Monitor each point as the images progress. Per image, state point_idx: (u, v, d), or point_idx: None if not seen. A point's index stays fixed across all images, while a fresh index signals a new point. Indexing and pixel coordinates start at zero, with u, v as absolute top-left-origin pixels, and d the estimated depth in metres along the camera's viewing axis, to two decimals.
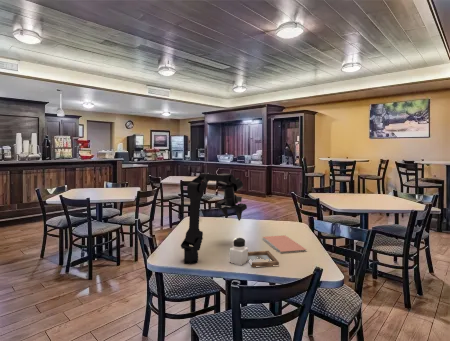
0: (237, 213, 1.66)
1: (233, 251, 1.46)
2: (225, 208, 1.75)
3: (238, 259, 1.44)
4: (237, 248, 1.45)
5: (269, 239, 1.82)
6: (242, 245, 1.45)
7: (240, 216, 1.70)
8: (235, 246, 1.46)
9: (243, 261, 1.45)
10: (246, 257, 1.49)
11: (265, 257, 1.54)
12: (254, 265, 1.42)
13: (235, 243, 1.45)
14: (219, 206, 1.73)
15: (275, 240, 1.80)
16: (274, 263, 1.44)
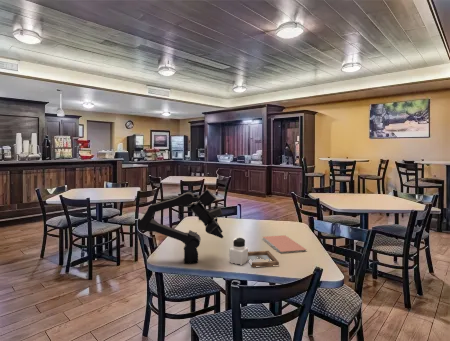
0: None
1: (233, 251, 1.46)
2: None
3: (238, 259, 1.44)
4: (237, 248, 1.45)
5: (269, 239, 1.82)
6: (242, 245, 1.45)
7: (219, 234, 1.42)
8: (235, 246, 1.46)
9: (243, 261, 1.45)
10: (246, 257, 1.49)
11: (265, 257, 1.54)
12: (254, 265, 1.42)
13: (235, 243, 1.45)
14: None
15: (275, 240, 1.80)
16: (274, 263, 1.44)
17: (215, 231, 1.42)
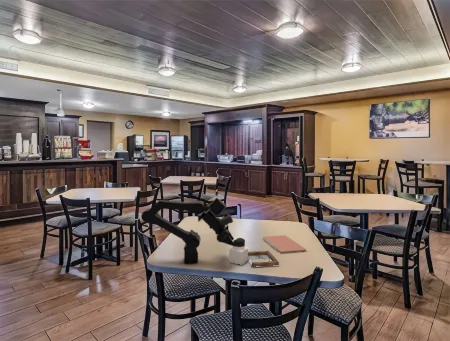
0: None
1: (233, 251, 1.46)
2: None
3: (238, 259, 1.44)
4: (237, 248, 1.45)
5: (269, 239, 1.82)
6: (242, 245, 1.45)
7: (231, 242, 1.42)
8: (235, 246, 1.46)
9: (243, 261, 1.45)
10: (246, 257, 1.49)
11: (265, 257, 1.54)
12: (254, 265, 1.42)
13: (235, 243, 1.45)
14: None
15: (275, 240, 1.80)
16: (274, 263, 1.44)
17: (226, 239, 1.42)
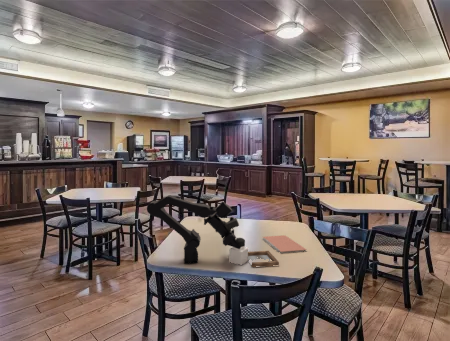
0: None
1: (233, 251, 1.46)
2: None
3: (238, 259, 1.44)
4: None
5: (269, 239, 1.82)
6: (242, 245, 1.45)
7: (237, 245, 1.44)
8: None
9: (243, 261, 1.45)
10: (246, 257, 1.49)
11: (265, 257, 1.54)
12: (254, 265, 1.42)
13: None
14: None
15: (275, 240, 1.80)
16: (274, 263, 1.44)
17: (232, 242, 1.43)
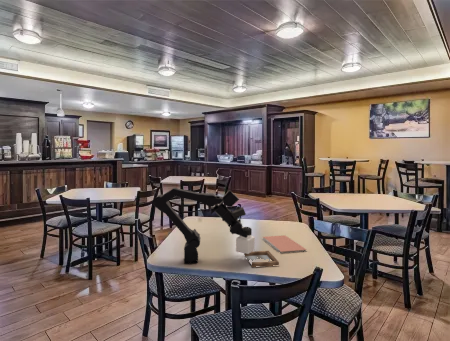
0: None
1: (240, 240, 1.46)
2: None
3: (245, 248, 1.44)
4: (244, 237, 1.45)
5: (269, 239, 1.82)
6: (249, 234, 1.46)
7: (243, 233, 1.44)
8: None
9: (250, 250, 1.45)
10: (253, 246, 1.49)
11: (265, 257, 1.54)
12: (254, 265, 1.42)
13: None
14: None
15: (275, 240, 1.80)
16: (274, 263, 1.44)
17: (239, 231, 1.43)
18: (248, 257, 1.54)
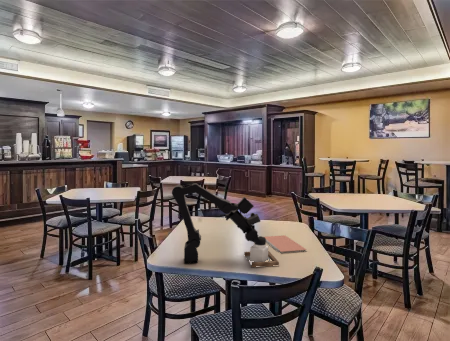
0: None
1: (254, 249, 1.47)
2: None
3: (259, 258, 1.46)
4: (258, 246, 1.47)
5: (269, 239, 1.82)
6: (263, 243, 1.47)
7: (259, 240, 1.45)
8: (256, 244, 1.47)
9: (264, 259, 1.47)
10: (267, 255, 1.50)
11: None
12: (254, 265, 1.42)
13: None
14: None
15: (275, 240, 1.80)
16: (274, 263, 1.44)
17: (254, 238, 1.44)
18: (248, 257, 1.54)
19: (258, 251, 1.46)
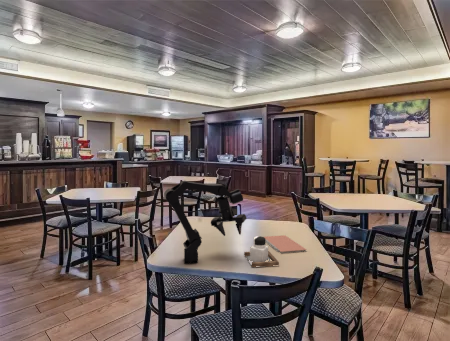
0: (238, 225, 1.49)
1: (254, 249, 1.47)
2: (221, 225, 1.56)
3: (259, 258, 1.46)
4: (258, 246, 1.47)
5: (269, 239, 1.82)
6: (263, 243, 1.47)
7: (240, 229, 1.52)
8: (256, 244, 1.47)
9: (264, 259, 1.47)
10: (267, 255, 1.50)
11: None
12: (254, 265, 1.42)
13: (256, 242, 1.47)
14: (214, 223, 1.53)
15: (275, 240, 1.80)
16: (274, 263, 1.44)
17: (239, 225, 1.51)
18: (248, 257, 1.54)
19: (258, 251, 1.46)
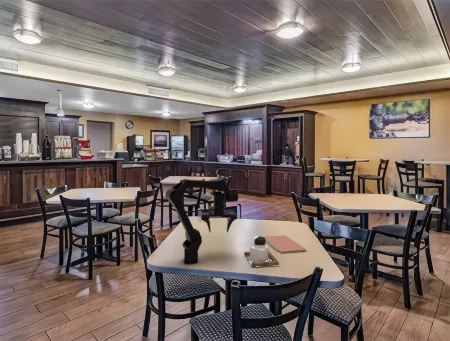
0: (231, 222, 1.53)
1: (254, 249, 1.47)
2: None
3: (259, 258, 1.46)
4: (258, 246, 1.47)
5: (269, 239, 1.82)
6: (263, 243, 1.47)
7: None
8: (256, 244, 1.47)
9: (264, 259, 1.47)
10: (267, 255, 1.50)
11: None
12: (254, 265, 1.42)
13: (256, 242, 1.47)
14: (207, 218, 1.50)
15: (275, 240, 1.80)
16: (274, 263, 1.44)
17: None
18: (248, 257, 1.54)
19: (258, 251, 1.46)
